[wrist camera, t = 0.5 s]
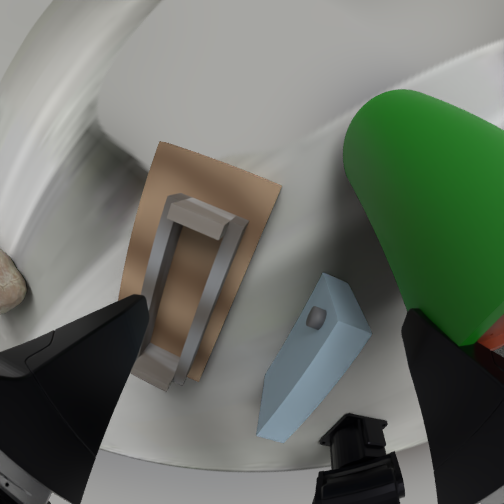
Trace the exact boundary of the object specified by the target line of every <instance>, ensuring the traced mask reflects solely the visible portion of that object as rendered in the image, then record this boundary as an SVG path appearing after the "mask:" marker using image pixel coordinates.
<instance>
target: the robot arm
mask: <svg viewBox="0 0 504 504" xmlns="http://www.w3.org/2000/svg"><path fill="white" fill-rule="evenodd" d="M149 320H150V315H149V310H148V305H147V300H146V297H145V296H144V295H139V294H133V295H130V296H128V297H126V298H124V299H121V300H119V301H117V302H115V303H113V304H110V305H108V306H106V307H104V308H102V309H99V310H97V311H95V312H93V313H91V314H88V315H86V316H84V317H82V318H80V319H77V320H75V321H73V322H71V323H69V324H66V325H64V326H62V327H60V328H58V329H56V330H55V331H54V330H53V331H51V332H49V333H47V334H45V335H42V336H40V337H38V338H36V339H33V340H31V341H28V342H26V343H23V344H21V345H18V346H15V347H13V348H10V349H7V350H5V351H2V352H0V504H51V503H50V502H49V501H48V500H49V498H50V496H51V493H54V494H56V495H58V496H59V497H61V498H63V499H64V500H66V501H68V502H70V503H71V504H80V503H81V500H82V497H83V494H84V490H85V487H86V484H87V481H88V479H89V476H90V473H91V470H92V467H93V464H94V461H95V459H96V455H97V453H98V450H99V447H100V445H101V442H102V439H103V437H104V434H105V432H106V429H107V427H108V424H109V422H110V419H111V417H112V414H113V412H114V409H115V407H116V405H117V402H118V400H119V397H120V395H121V393H122V390H123V388H124V386H125V383H126V381H127V379H128V377H129V374H130V372H131V370H132V368H133V365H134V363H135V361H136V359H137V356H138V353H139V351H140V348H141V344H142V341H143V338H144V335H145V332H146V329H147V327H148V324H149ZM401 333H402V338H403V342H404V347H405V351H406V356H407V361H408V366H409V370H410V373H411V377H412V380H413V383H414V387H415V390H416V394H417V397H418V401H419V405H420V408H421V412H422V416H423V420H424V425H425V429H426V433H427V438H428V443H429V447H430V452H431V458H432V463H433V469H434V477H435V483H436V491H437V499H438V504H478V503H481V504H504V358H503V357H502V356H500V355H498V354H497V353H495V352H494V351H492V350H491V351H490V349H489V348H487V347H485V346H484V345H482V344H480V343H479V342H477V341H476V342H475V343H474V344H470V345H464V346H458V345H457V344H456V343H455V342H453V341H452V340H451V339H450V338H449V337H448V336H447V335H446V334H445V333H444V332H443V331H442V330H441V329H440V328H438V327H437V326H436V325H435V324H434V323H433V322H432V321H431V320H430V319H429V318H428V317H427V316H426V315H425V314H424V313H423V312H422V311H421V310H420V309H419V308H411V309H409V310H408V312H407V315H406V318H405V320H404V323H403V326H402V331H401ZM387 425H388V423H387V421H385V420H380V419H374V418H369V417H364V416H359V415H354V414H346V415H345V416H344V417H343V418H342V419H341V420H340V421H339V422H338V423H337V424H336V425H335V426H334V427H333V428H332V429H331V430H330V431H329V432H328V433H327V434H326V435H325V436H324V437H323V438H322V439H321V440H320V444H321V445H325V446H330V453H331V468H332V470H329V471H320V472H319V475H318V478H317V484H316V492H315V496H314V499H313V502H312V504H400V502H399V498H402V497H405V489H404V483H403V478H402V474H401V470H400V467H399V464H398V460H397V457H396V454H395V451H394V452H391V453H390V454H387V455H386V451H385V446H386V442H385V438H384V434H383V429H384V428H385V427H386V426H387Z"/></svg>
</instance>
